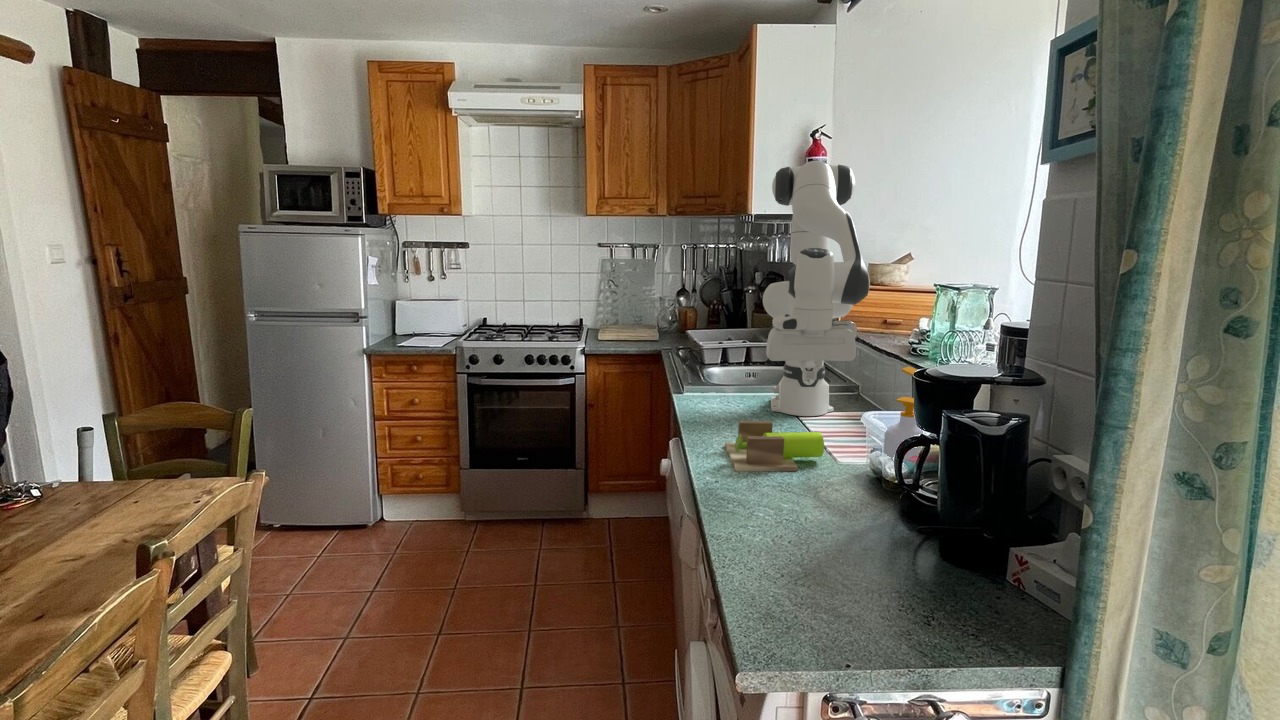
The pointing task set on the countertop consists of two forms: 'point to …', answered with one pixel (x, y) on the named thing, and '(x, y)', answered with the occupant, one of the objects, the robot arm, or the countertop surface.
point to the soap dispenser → (794, 444)
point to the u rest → (759, 449)
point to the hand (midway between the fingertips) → (809, 379)
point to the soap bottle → (903, 426)
